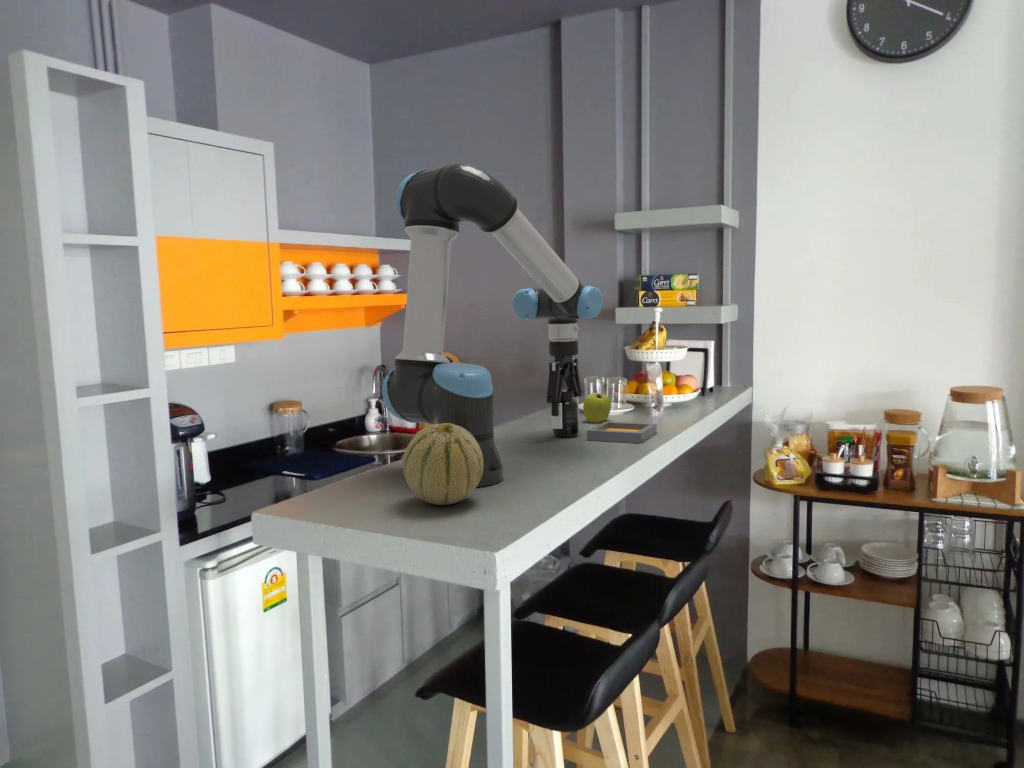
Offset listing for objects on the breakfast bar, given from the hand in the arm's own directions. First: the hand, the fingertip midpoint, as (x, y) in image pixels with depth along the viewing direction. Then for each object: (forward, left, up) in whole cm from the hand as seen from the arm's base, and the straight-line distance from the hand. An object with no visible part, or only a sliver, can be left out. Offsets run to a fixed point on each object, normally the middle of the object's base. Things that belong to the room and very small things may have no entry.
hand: (565, 424), depth 198 cm
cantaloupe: (-40, -53, -3) cm, 66 cm away
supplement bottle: (0, 0, -3) cm, 3 cm away
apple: (+15, +17, -3) cm, 23 cm away
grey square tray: (+13, -7, -3) cm, 15 cm away
